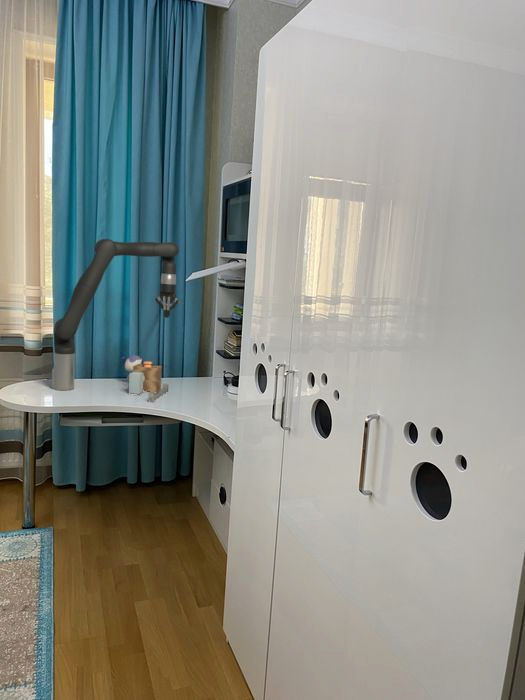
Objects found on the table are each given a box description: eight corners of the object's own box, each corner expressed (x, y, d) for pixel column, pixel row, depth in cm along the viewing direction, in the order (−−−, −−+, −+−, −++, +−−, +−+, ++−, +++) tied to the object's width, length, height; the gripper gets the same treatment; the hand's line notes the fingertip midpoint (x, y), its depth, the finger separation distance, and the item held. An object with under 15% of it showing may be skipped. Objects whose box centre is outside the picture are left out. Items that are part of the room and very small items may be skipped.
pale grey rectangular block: (128, 394, 280) (129, 373, 278) (132, 392, 285) (133, 371, 284) (139, 395, 279) (139, 374, 277) (143, 393, 284) (144, 372, 283)
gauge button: (141, 379, 288) (142, 362, 287) (144, 377, 292) (145, 361, 291) (149, 380, 287) (150, 363, 286) (152, 378, 292) (153, 361, 290)
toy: (147, 383, 305) (148, 354, 303) (140, 387, 295) (141, 357, 293) (127, 381, 307) (128, 352, 304) (120, 385, 297) (121, 355, 295)
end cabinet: (131, 390, 288) (132, 366, 286) (137, 387, 295) (138, 363, 293) (155, 393, 286) (156, 368, 284) (160, 389, 293) (161, 366, 291)
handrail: (148, 401, 269) (148, 393, 268) (163, 391, 291) (163, 383, 290) (153, 402, 269) (153, 393, 268) (168, 392, 290) (168, 384, 290)
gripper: (183, 283, 298) (181, 318, 301) (158, 281, 300) (156, 315, 303) (179, 284, 291) (177, 319, 294) (153, 282, 293) (151, 317, 296)
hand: (166, 317), depth 298 cm, fingers closed
